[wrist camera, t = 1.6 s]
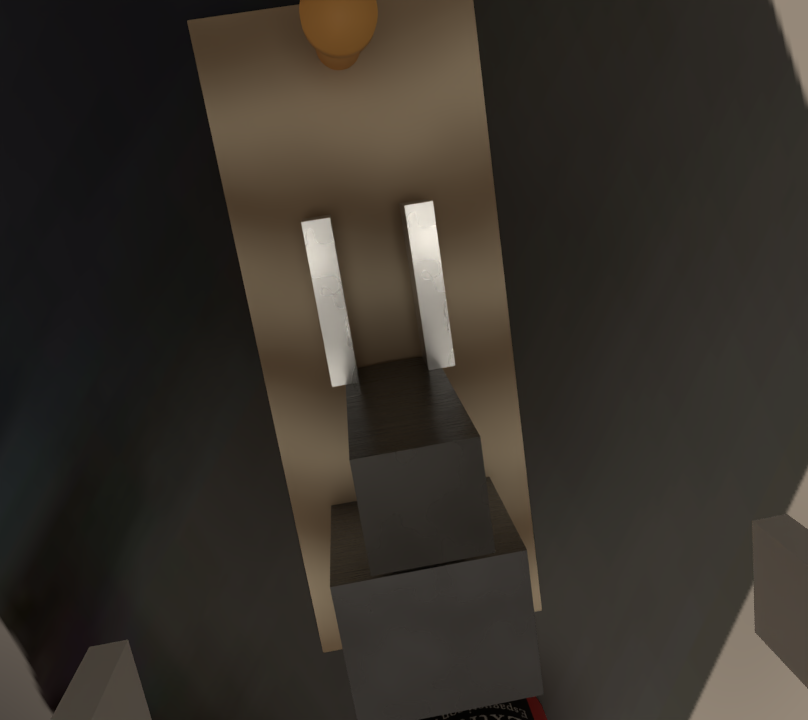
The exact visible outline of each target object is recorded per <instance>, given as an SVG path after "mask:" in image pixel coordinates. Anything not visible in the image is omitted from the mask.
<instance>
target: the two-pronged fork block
mask: <svg viewBox="0 0 808 720" xmlns="http://www.w3.org/2000/svg"><path fill="white" fill-rule="evenodd" d="M399 205H400V212H401V219H402V225H403V232H404V239H405V245H406V252H407V259H408V265H409V272H410V279H411V285H412V292H413V299H414V305H415V312H416V319H417V325H418V332H419V339H420V345H421V352H422V357H417V358H411V359H405V360H400V361H394V362H388V363H382V364H376V365H370V366H365V367H359V368H357V363H356V357H355V351H354V346H353V340H352V334H351V329H350V323H349V317H348V312H347V306H346V300H345V295H344V289H343V283H342V278H341V272H340V266H339V261H338V255H337V249H336V244H335V238H334V233H333V227H332V221H331V216H330V215H324V216H318V217H311V218H305V219H303V220H302V222H301V225H302V230H303V235H304V241H305V246H306V251H307V256H308V262H309V267H310V272H311V278H312V283H313V288H314V294H315V299H316V304H317V309H318V315H319V320H320V325H321V331H322V336H323V341H324V347H325V352H326V357H327V363H328V368H329V373H330V378H331V384H332V387H335V386H341V385H346V402H347V422H348V442H349V461H350V466H351V471H352V477H353V482H354V487H355V493H356V498H357V503H358V509H359V514H360V519H361V525H362V530H363V536H364V541H365V546H366V552H367V557H368V562H369V568H370V573H371V576H375V575H381V574H386V573H391V572H397V571H402V570H407V569H412V568H418V567H423V566H428V565H434V564H439V563H444V562H449V561H455V560H460V559H465V558H471V557H476V556H481V555H487V554H492V553H495V545H494V537H493V530H492V522H491V514H490V507H489V499H488V491H487V484H486V476H485V468H484V461H483V453H482V445H481V438H480V435H479V433H478V431H477V430H476V428H475V426H474V424H473V422H472V421H471V419H470V417H469V415H468V414H467V412H466V410H465V408H464V406H463V405H462V403H461V401H460V399H459V397H458V396H457V394H456V392H455V390H454V388H453V387H452V385H451V383H450V381H449V379H448V378H447V376H446V374H445V372H444V371H443V369H442V368H444V367H450V366H455V360H454V352H453V345H452V338H451V330H450V323H449V316H448V308H447V301H446V294H445V286H444V279H443V272H442V265H441V257H440V250H439V243H438V235H437V228H436V221H435V213H434V206H433V201H431V200H427V199H424V200H417V201H411V202H405V203H399Z"/></svg>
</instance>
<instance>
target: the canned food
mask: <svg viewBox="0 0 808 720" xmlns="http://www.w3.org/2000/svg"><path fill="white" fill-rule="evenodd" d="M420 720H547V718H546V715H545V713H544V710H543V708H542V705H541V704H540V702H539V701H538V699H537V698H536V696H534V697H529V698H524V699H519V700H514V701H509V702H504V703H499V704H494V705H489V706H484V707H479V708H475V709H470V710H465V711H460V712H455V713H450V714H445V715H440V716H435V717H430V718H425V719H420Z"/></svg>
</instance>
